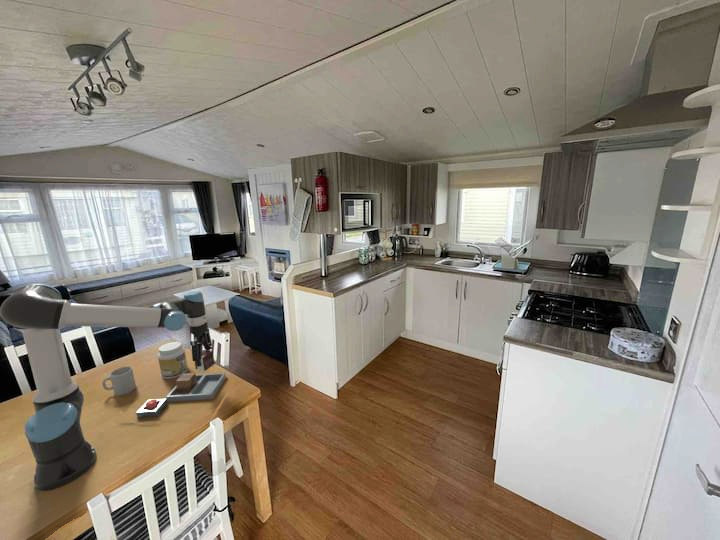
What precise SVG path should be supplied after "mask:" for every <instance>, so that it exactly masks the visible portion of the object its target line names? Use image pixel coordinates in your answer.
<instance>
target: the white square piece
mask: <svg viewBox="0 0 720 540" xmlns="http://www.w3.org/2000/svg"><path fill="white" fill-rule="evenodd" d="M154 399H155V398H154ZM154 399H152V398H151V399H148V400H146V402H144V403H143V405H141V407H140V408H139V409H138V410H137V411H136V413H135V414H136V418H137V419H141V418H142V419H143V418H157V417H158V416H159V415H160V414H161V412H162V411H163V410H164V409H165V408H166V407H167V405H168V402H167V399H166V398H156V399H155V400H157V404H158V405H157V406H156V407H155V409H147V408H146V403H147V402H148V401H150V400H154Z"/></svg>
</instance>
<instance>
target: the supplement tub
mask: <svg viewBox="0 0 720 540" xmlns="http://www.w3.org/2000/svg"><path fill="white" fill-rule="evenodd" d="M157 360H158V364H159V369H160V374H161V377H162V378H163V379H167V380H169V379H175V378H177V377H178V378H179V377H180V376H181V375H182V374H184V373H186V372H188V370H189V369H188V367H189V366H188V361H187V356H186V349H185V348H184V347H183V345H182V343H181V341H171V342H168V343H165V344H162V345H161V346H159V347H158V354H157Z"/></svg>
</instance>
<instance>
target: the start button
mask: <svg viewBox="0 0 720 540" xmlns="http://www.w3.org/2000/svg"><path fill="white" fill-rule="evenodd" d="M149 400H150V401H148V400H147V401H148V402H147V401H146V402H147V403H146V402H145V403H146V408H147V409H155V407H156V406H157V405H158V404H157V400H155V398H154V400H151V399H149Z"/></svg>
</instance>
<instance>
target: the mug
mask: <svg viewBox="0 0 720 540" xmlns="http://www.w3.org/2000/svg"><path fill="white" fill-rule="evenodd" d="M134 375H135V374H134V372H133V367H132V366H122V367H119V368H116V369H114V370H112V371H111V372H110V374H109V376H107V377H105V378H103V380H102V383H101V384H102V388H103V389H104V391H105V390H106V391H110V390H111V391H112V390H113V393H114V395H115V396H117V397H119V396H125V395H127V394H130V393H132V392H134V391H135V390H136V389H137V384H136V380H135V376H134ZM107 381H111V386H107V385H106V382H107Z"/></svg>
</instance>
